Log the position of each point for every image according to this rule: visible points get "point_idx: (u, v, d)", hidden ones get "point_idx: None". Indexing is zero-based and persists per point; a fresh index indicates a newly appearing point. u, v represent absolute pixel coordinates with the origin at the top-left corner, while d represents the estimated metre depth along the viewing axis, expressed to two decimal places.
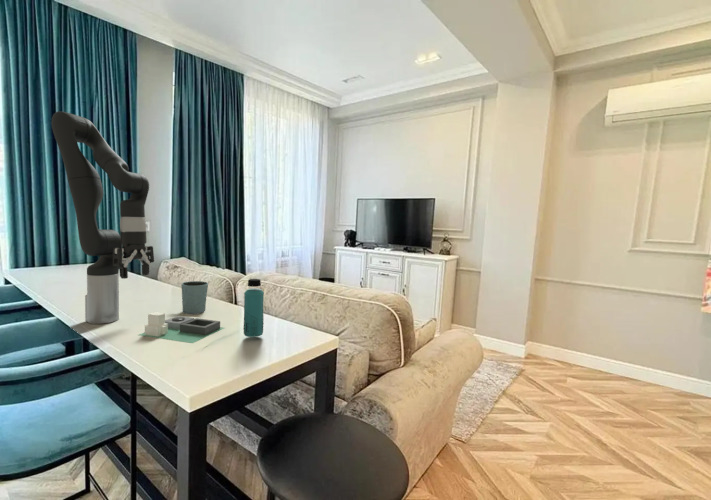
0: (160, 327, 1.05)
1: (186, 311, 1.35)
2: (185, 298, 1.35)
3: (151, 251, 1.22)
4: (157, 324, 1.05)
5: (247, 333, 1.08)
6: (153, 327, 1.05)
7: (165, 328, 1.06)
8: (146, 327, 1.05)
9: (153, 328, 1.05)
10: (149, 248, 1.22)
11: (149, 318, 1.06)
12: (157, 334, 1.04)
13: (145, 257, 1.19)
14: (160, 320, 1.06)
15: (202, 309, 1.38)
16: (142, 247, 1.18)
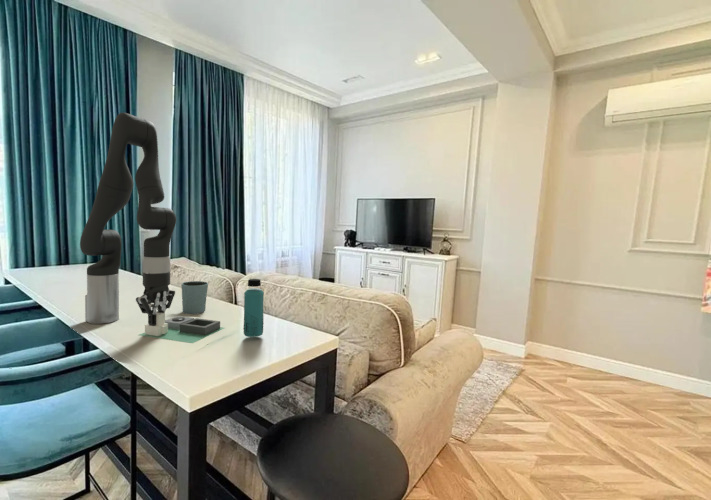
0: (160, 327, 1.05)
1: (186, 311, 1.35)
2: (185, 298, 1.35)
3: (172, 296, 1.11)
4: (157, 324, 1.05)
5: (247, 333, 1.08)
6: (153, 327, 1.05)
7: (165, 328, 1.06)
8: (146, 327, 1.05)
9: (153, 328, 1.05)
10: (171, 292, 1.11)
11: None
12: (157, 334, 1.04)
13: (164, 301, 1.07)
14: (160, 320, 1.06)
15: (202, 309, 1.38)
16: (166, 287, 1.08)
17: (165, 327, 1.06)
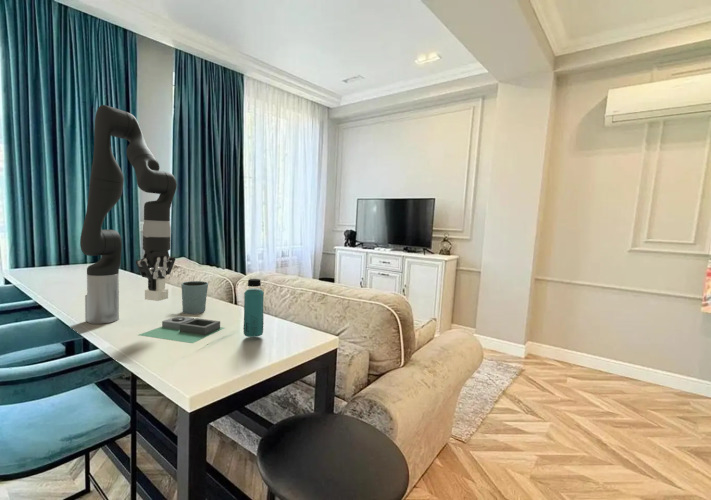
0: (160, 292, 1.04)
1: (186, 311, 1.35)
2: (185, 298, 1.35)
3: (172, 262, 1.10)
4: (157, 289, 1.04)
5: (247, 333, 1.08)
6: (153, 291, 1.04)
7: (165, 293, 1.05)
8: (146, 292, 1.04)
9: (153, 293, 1.04)
10: (171, 258, 1.10)
11: None
12: (157, 298, 1.04)
13: (164, 267, 1.06)
14: (160, 285, 1.05)
15: (202, 309, 1.38)
16: (166, 253, 1.07)
17: (165, 292, 1.05)
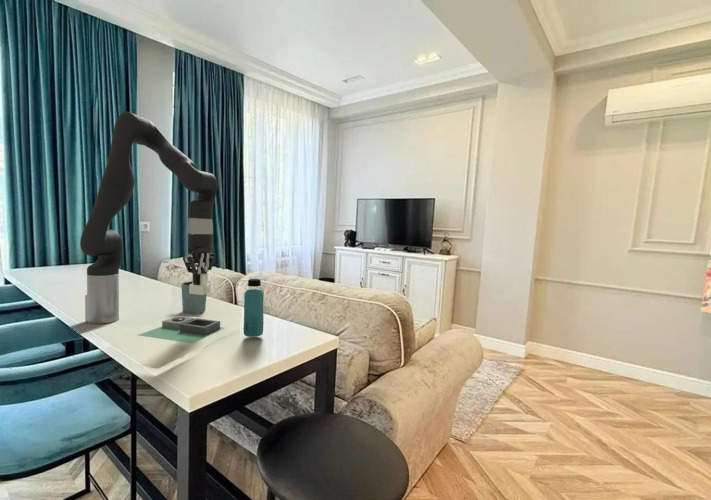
0: (204, 286, 1.10)
1: (186, 311, 1.35)
2: (185, 298, 1.35)
3: (213, 258, 1.15)
4: (201, 283, 1.10)
5: (247, 333, 1.08)
6: (198, 286, 1.09)
7: (208, 287, 1.11)
8: (191, 286, 1.10)
9: (197, 287, 1.09)
10: (212, 255, 1.15)
11: None
12: (201, 293, 1.09)
13: (207, 263, 1.12)
14: (204, 280, 1.10)
15: (202, 309, 1.38)
16: (208, 249, 1.13)
17: (208, 287, 1.11)
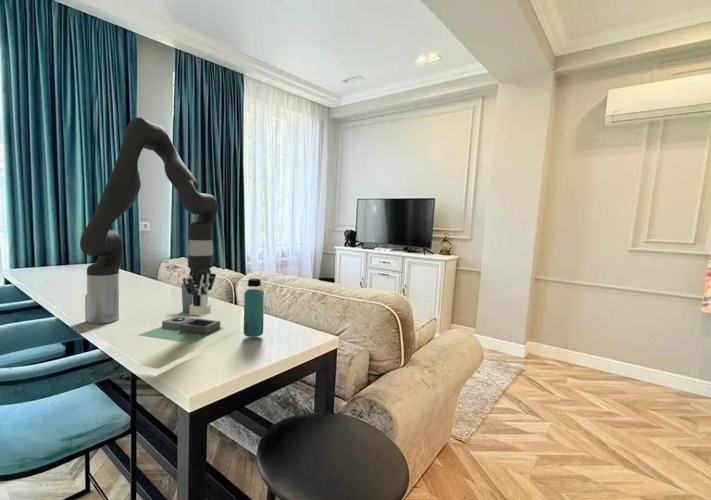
0: (204, 307, 1.10)
1: (186, 311, 1.35)
2: (185, 298, 1.35)
3: (213, 278, 1.16)
4: (201, 304, 1.10)
5: (247, 333, 1.08)
6: (198, 307, 1.10)
7: (209, 308, 1.11)
8: (191, 307, 1.10)
9: (198, 308, 1.10)
10: (212, 275, 1.16)
11: None
12: (202, 313, 1.10)
13: (207, 283, 1.12)
14: (204, 301, 1.11)
15: None
16: (208, 270, 1.13)
17: (208, 307, 1.11)
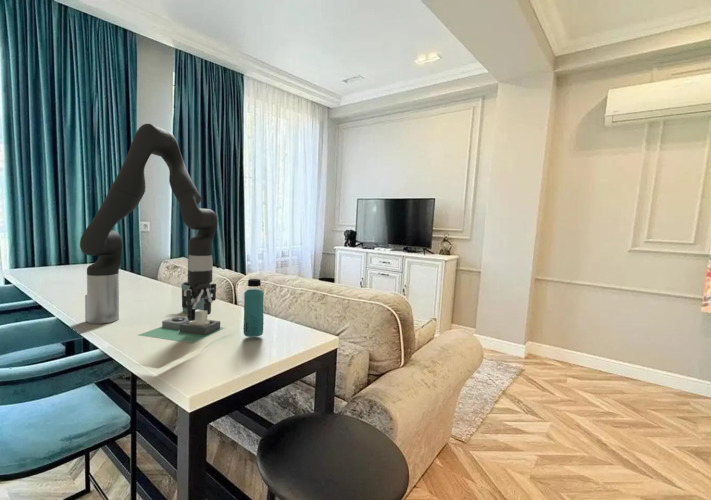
0: (204, 323, 1.11)
1: (186, 311, 1.35)
2: None
3: (214, 289, 1.17)
4: (201, 321, 1.11)
5: (247, 333, 1.08)
6: (197, 323, 1.10)
7: (208, 324, 1.12)
8: (190, 323, 1.11)
9: None
10: (213, 286, 1.17)
11: None
12: None
13: (209, 296, 1.14)
14: (204, 317, 1.11)
15: (202, 309, 1.38)
16: (207, 285, 1.13)
17: (208, 324, 1.12)
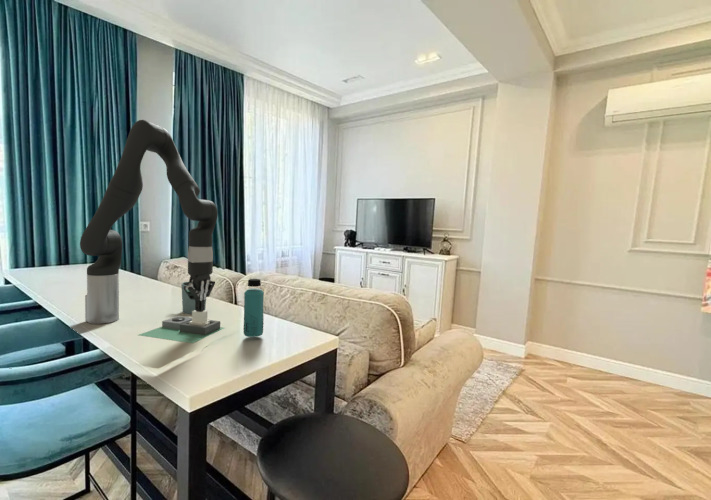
0: (204, 324, 1.11)
1: (186, 311, 1.35)
2: (185, 298, 1.35)
3: (212, 286, 1.16)
4: (201, 321, 1.11)
5: (247, 333, 1.08)
6: (197, 323, 1.10)
7: (208, 324, 1.12)
8: (190, 323, 1.11)
9: None
10: (211, 282, 1.16)
11: (193, 315, 1.11)
12: None
13: (206, 290, 1.12)
14: (204, 317, 1.11)
15: None
16: (208, 276, 1.14)
17: (208, 324, 1.12)
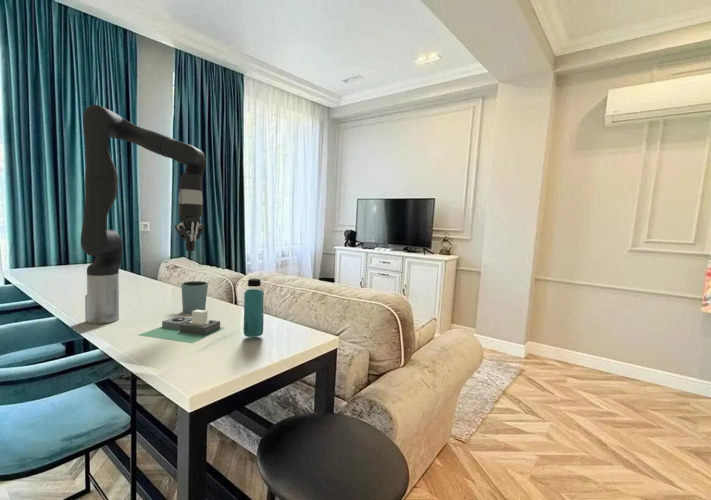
0: (204, 323, 1.11)
1: (186, 311, 1.35)
2: (185, 298, 1.35)
3: (202, 229, 1.24)
4: (201, 321, 1.11)
5: (247, 333, 1.08)
6: (197, 323, 1.10)
7: (208, 324, 1.12)
8: (190, 323, 1.11)
9: None
10: (201, 226, 1.25)
11: (193, 315, 1.11)
12: None
13: (196, 231, 1.21)
14: (204, 317, 1.11)
15: (202, 309, 1.38)
16: (198, 219, 1.22)
17: (208, 324, 1.12)
